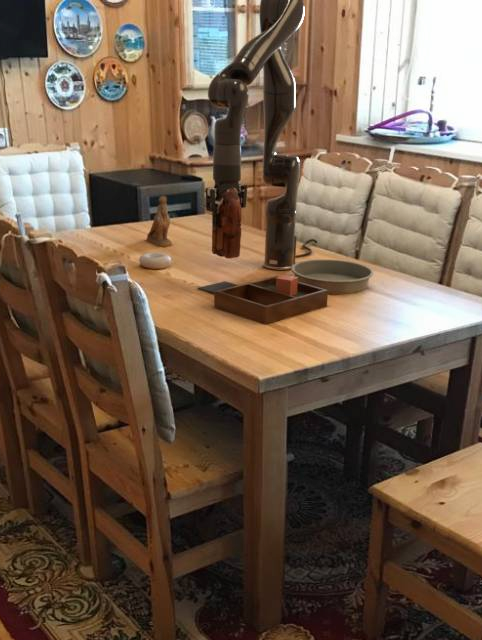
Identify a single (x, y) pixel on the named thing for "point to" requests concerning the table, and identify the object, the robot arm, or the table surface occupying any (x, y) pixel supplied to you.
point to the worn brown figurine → (160, 224)
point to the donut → (155, 260)
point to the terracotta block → (287, 284)
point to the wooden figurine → (228, 227)
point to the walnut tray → (269, 300)
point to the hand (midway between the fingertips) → (226, 225)
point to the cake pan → (333, 275)
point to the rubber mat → (216, 287)
